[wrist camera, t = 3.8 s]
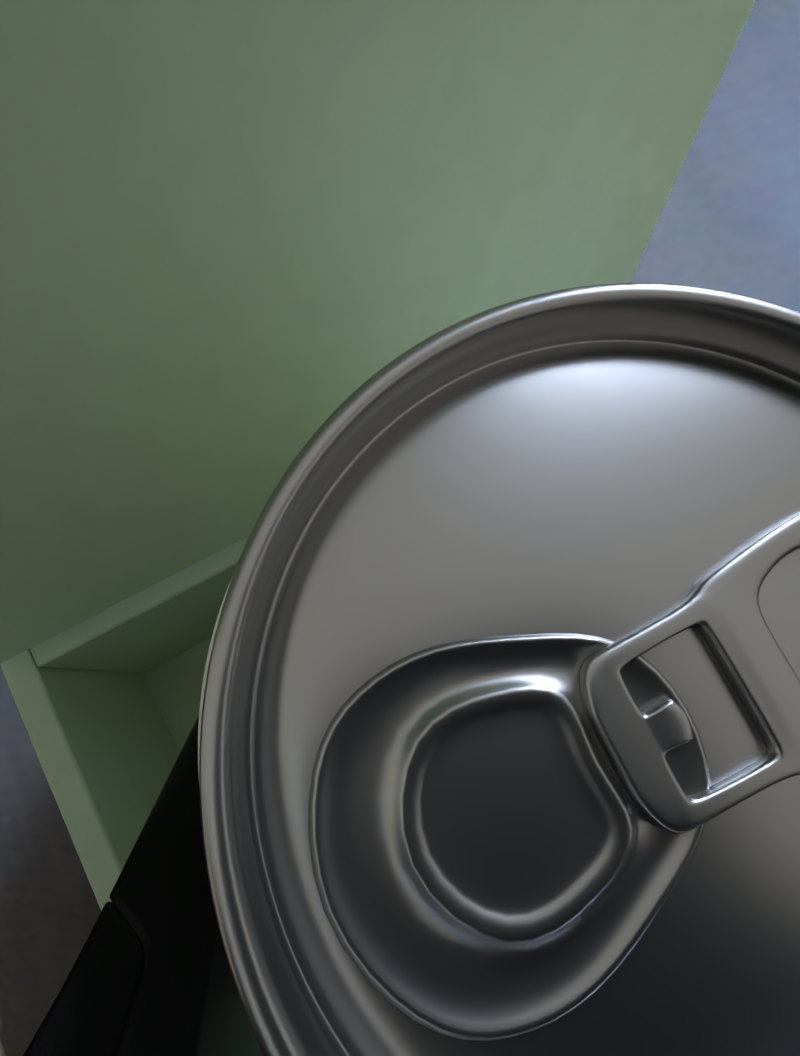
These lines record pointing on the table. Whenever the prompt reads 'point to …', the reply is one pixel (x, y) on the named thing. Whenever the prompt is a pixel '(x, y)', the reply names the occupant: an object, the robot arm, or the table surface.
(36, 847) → the table surface
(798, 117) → the table surface
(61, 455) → the chest lid
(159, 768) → the chest
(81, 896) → the table surface
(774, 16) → the table surface
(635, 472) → the can
